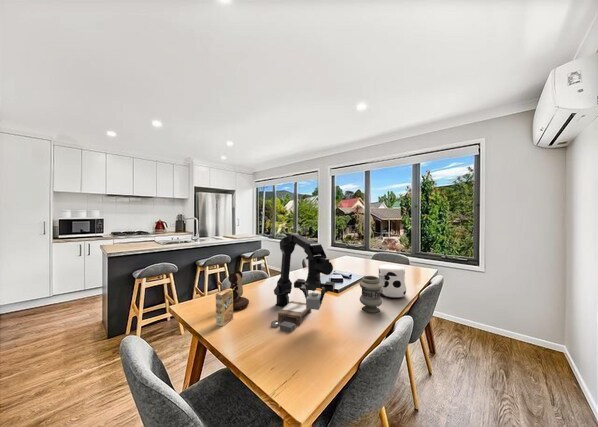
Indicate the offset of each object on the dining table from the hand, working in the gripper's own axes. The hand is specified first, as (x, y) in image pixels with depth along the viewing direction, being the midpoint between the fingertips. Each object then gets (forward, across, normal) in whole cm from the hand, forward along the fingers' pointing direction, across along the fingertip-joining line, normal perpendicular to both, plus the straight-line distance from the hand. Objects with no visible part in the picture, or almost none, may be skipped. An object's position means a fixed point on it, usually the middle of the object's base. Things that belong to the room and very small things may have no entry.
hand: (314, 302), depth 110 cm
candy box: (+12, -44, -8) cm, 46 cm away
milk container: (+12, +38, +53) cm, 66 cm away
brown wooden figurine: (+12, -49, +10) cm, 52 cm away
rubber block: (+12, -11, -6) cm, 17 cm away
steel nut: (+12, -18, -4) cm, 22 cm away
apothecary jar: (+11, +26, +26) cm, 38 cm away
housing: (+1, 0, 0) cm, 1 cm away
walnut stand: (+11, -12, +8) cm, 19 cm away
